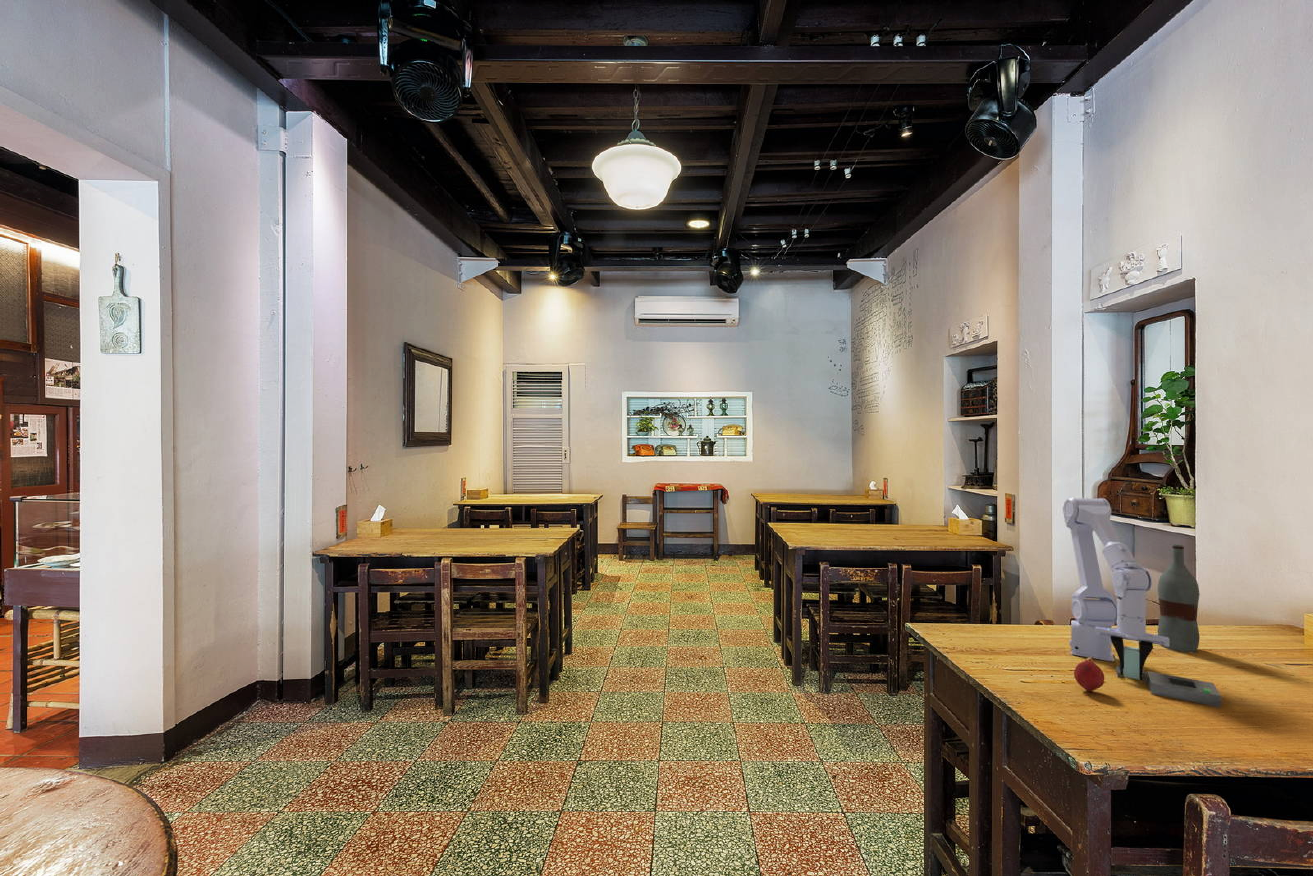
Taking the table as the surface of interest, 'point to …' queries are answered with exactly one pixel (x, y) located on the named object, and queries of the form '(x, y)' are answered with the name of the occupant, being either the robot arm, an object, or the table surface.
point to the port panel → (1184, 689)
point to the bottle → (1178, 605)
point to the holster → (1139, 673)
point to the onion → (1089, 675)
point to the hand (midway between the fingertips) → (1131, 668)
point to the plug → (1131, 662)
